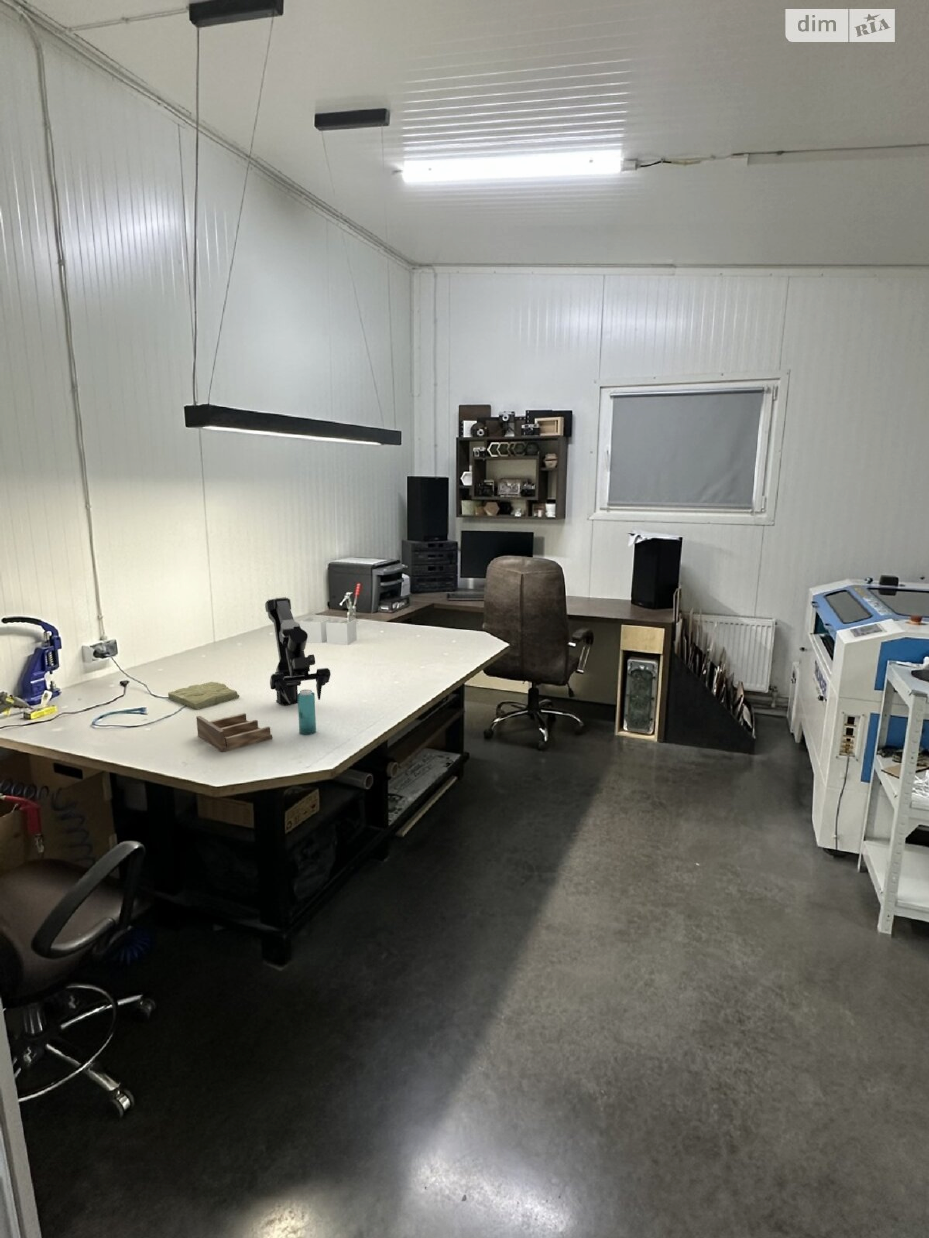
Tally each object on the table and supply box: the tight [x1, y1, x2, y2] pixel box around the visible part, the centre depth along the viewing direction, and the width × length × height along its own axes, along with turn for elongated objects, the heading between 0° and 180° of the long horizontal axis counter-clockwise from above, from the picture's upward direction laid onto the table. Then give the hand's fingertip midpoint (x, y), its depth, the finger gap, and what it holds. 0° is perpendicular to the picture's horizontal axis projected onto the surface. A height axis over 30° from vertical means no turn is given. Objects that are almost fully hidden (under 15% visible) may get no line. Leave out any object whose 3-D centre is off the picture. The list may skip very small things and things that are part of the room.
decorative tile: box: [167, 681, 240, 710], centre depth 247 cm, size 19×20×4 cm
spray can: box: [297, 689, 317, 736], centre depth 212 cm, size 5×5×14 cm
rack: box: [196, 713, 273, 753], centre depth 208 cm, size 16×18×6 cm
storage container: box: [299, 616, 358, 646], centre depth 336 cm, size 25×11×11 cm, turn 75°
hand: (305, 701), depth 214 cm, fingers open, 9 cm apart
